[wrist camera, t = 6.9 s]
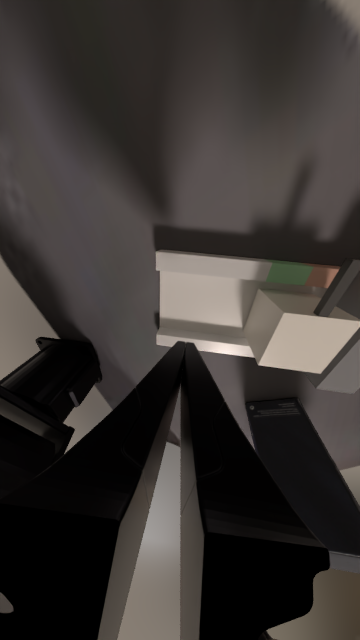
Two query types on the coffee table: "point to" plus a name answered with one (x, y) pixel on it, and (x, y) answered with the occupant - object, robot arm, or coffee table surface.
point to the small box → (307, 477)
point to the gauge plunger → (301, 325)
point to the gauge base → (245, 305)
